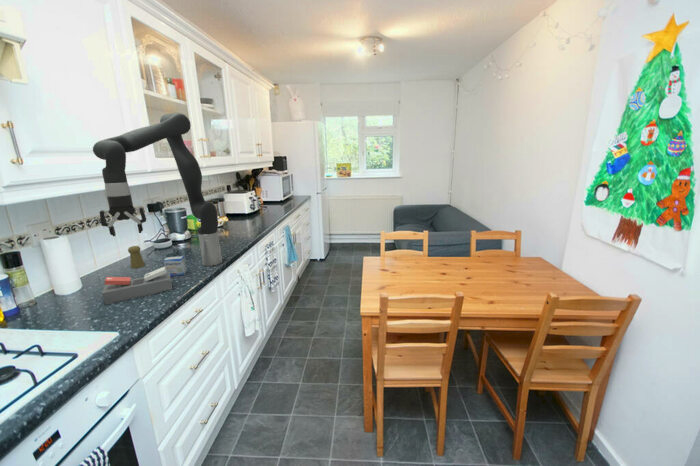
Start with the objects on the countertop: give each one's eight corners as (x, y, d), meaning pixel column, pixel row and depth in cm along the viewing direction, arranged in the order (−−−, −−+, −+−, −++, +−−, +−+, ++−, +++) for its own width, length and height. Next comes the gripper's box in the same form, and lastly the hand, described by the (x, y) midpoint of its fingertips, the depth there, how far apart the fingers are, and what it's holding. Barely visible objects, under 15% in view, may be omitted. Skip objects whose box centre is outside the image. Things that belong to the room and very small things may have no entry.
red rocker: (130, 280, 124) (130, 277, 124) (129, 284, 120) (130, 280, 120) (106, 280, 119) (106, 276, 119) (104, 284, 116) (104, 280, 116)
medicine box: (166, 276, 141) (163, 260, 138) (169, 273, 145) (166, 256, 142) (184, 274, 143) (181, 258, 140) (186, 271, 147) (184, 255, 144)
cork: (137, 268, 150) (133, 248, 147) (128, 268, 152) (123, 248, 148) (147, 264, 156) (143, 245, 153) (138, 263, 157) (133, 244, 154)
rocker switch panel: (171, 282, 135) (169, 270, 133) (172, 289, 127) (169, 277, 126) (108, 295, 123) (105, 282, 121) (105, 304, 116) (101, 290, 114)
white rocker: (166, 269, 130) (164, 266, 130) (166, 272, 127) (164, 269, 126) (146, 277, 127) (144, 274, 126) (146, 281, 123) (144, 278, 123)
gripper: (141, 191, 120) (149, 229, 124) (97, 194, 113) (106, 234, 117) (140, 194, 114) (148, 233, 118) (93, 196, 107) (103, 239, 111)
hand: (127, 234), depth 118 cm, fingers open, 8 cm apart
